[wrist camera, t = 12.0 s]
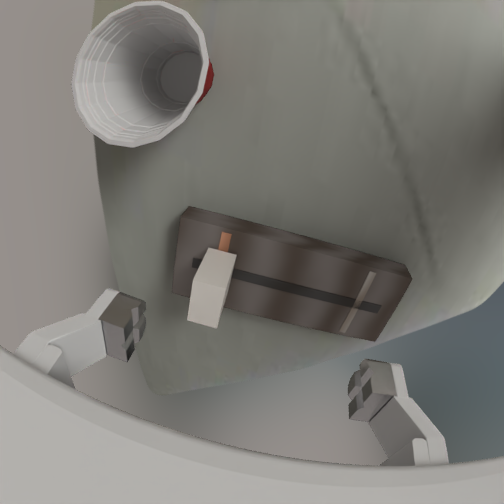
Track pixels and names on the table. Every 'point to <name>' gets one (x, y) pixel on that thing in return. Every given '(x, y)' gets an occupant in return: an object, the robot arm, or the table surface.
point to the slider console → (292, 275)
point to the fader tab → (211, 287)
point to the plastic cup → (141, 73)
